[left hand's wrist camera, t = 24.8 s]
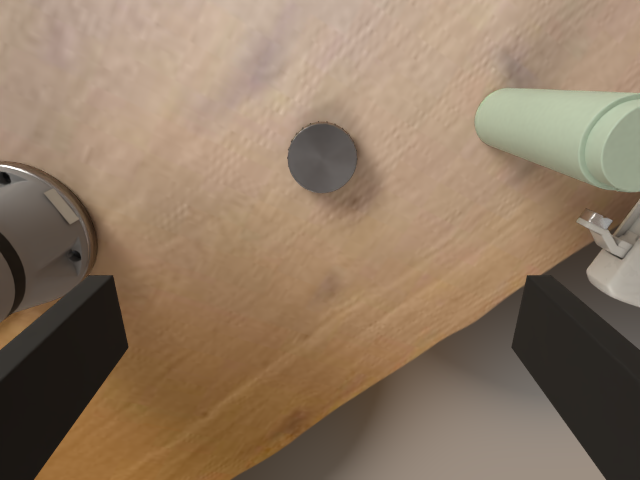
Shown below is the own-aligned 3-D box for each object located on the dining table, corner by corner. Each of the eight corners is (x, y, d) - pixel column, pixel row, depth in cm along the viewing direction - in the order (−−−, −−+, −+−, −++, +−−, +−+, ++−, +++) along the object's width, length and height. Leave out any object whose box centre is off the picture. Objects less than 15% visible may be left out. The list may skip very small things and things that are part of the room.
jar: (501, 158, 40) (637, 216, 23) (462, 124, 38) (574, 158, 22) (544, 112, 38) (723, 137, 21) (504, 75, 37) (660, 70, 20)
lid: (361, 126, 39) (363, 128, 37) (349, 193, 41) (351, 198, 39) (292, 116, 38) (291, 118, 37) (285, 184, 41) (283, 189, 39)
